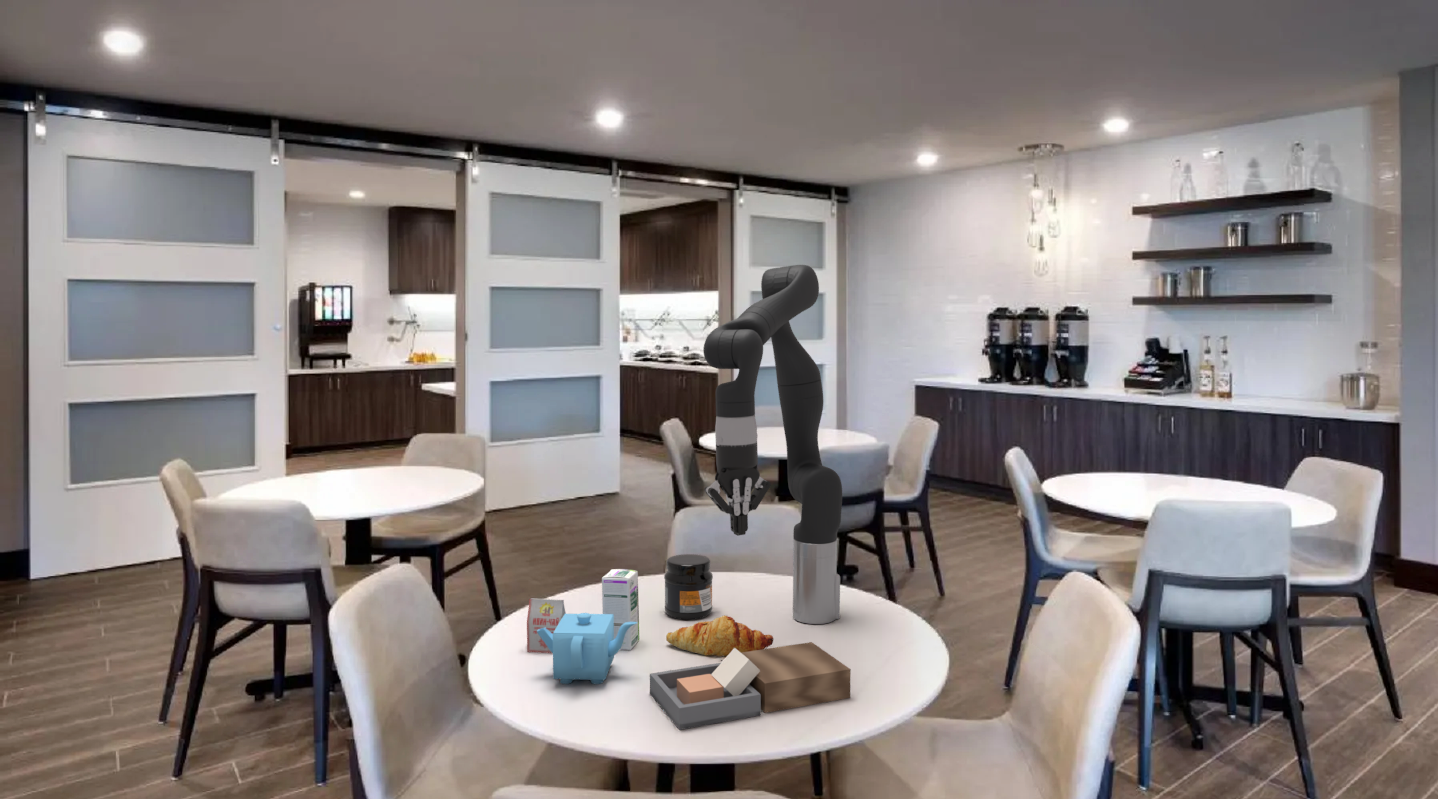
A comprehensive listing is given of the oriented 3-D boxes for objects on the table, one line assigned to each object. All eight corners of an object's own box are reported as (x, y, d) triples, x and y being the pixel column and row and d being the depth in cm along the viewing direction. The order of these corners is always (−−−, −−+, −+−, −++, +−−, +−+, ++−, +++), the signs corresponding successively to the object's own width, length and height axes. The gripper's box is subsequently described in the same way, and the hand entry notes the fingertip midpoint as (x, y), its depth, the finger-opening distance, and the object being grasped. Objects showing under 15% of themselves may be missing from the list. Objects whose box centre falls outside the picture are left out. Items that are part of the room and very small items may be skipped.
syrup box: (631, 650, 176) (630, 577, 175) (602, 648, 178) (601, 575, 176) (639, 640, 182) (639, 569, 181) (611, 638, 183) (610, 567, 182)
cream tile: (745, 658, 157) (734, 647, 156) (760, 670, 151) (749, 659, 150) (722, 685, 155) (710, 674, 154) (736, 698, 150) (724, 687, 149)
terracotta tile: (676, 679, 153) (676, 696, 153) (689, 692, 148) (689, 710, 148) (709, 673, 155) (709, 690, 156) (723, 686, 150) (723, 704, 150)
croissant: (663, 668, 177) (659, 640, 172) (671, 629, 185) (667, 601, 181) (772, 672, 174) (770, 643, 170) (775, 632, 182) (773, 603, 178)
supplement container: (715, 620, 194) (715, 565, 193) (666, 622, 193) (666, 566, 192) (709, 604, 205) (709, 552, 204) (662, 606, 203) (662, 554, 202)
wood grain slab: (811, 668, 168) (811, 642, 167) (850, 697, 155) (850, 669, 154) (731, 681, 162) (731, 654, 161) (764, 713, 149) (765, 683, 148)
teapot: (547, 659, 172) (546, 600, 171) (642, 660, 172) (642, 602, 171) (527, 693, 156) (526, 629, 155) (632, 695, 156) (631, 630, 155)
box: (725, 681, 162) (725, 662, 161) (760, 715, 148) (760, 694, 148) (649, 693, 156) (649, 673, 156) (679, 729, 143) (679, 708, 142)
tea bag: (534, 645, 180) (533, 595, 179) (567, 647, 179) (566, 597, 178) (527, 651, 176) (526, 601, 175) (560, 653, 175) (560, 603, 174)
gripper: (759, 434, 171) (761, 525, 172) (694, 441, 165) (697, 534, 167) (778, 439, 164) (781, 533, 166) (711, 446, 158) (715, 544, 160)
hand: (739, 534), depth 166 cm, fingers closed
